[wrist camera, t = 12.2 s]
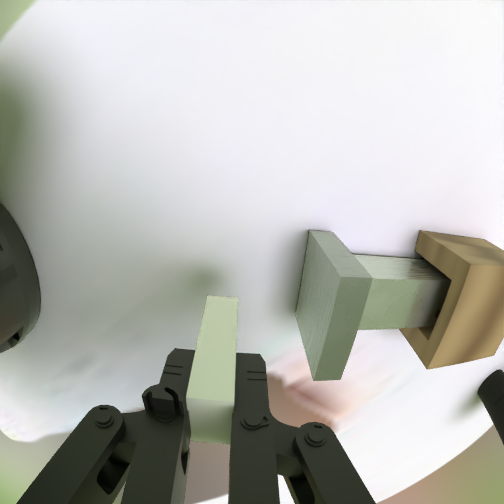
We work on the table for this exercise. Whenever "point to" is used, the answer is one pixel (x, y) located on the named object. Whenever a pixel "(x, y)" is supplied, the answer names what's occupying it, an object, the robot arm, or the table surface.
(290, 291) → the table surface
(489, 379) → the drinking cup
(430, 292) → the shaft
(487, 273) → the tan wooden block
